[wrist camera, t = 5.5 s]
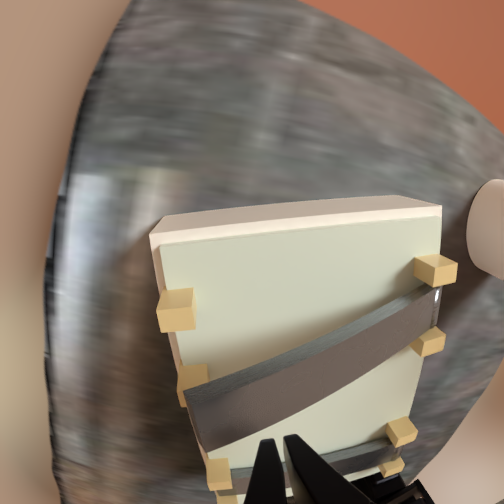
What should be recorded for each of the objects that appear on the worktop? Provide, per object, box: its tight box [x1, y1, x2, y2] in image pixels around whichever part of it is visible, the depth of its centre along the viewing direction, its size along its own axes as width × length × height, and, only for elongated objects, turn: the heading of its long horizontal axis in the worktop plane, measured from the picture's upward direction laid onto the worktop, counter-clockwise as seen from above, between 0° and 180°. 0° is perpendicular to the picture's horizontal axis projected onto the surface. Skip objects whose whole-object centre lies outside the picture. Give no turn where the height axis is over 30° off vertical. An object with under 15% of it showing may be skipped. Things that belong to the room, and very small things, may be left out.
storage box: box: [149, 195, 458, 504], centre depth 18 cm, size 22×15×8 cm
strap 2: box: [217, 437, 405, 496], centre depth 18 cm, size 14×2×1 cm, turn 95°
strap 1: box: [183, 282, 443, 453], centre depth 12 cm, size 14×2×1 cm, turn 95°
